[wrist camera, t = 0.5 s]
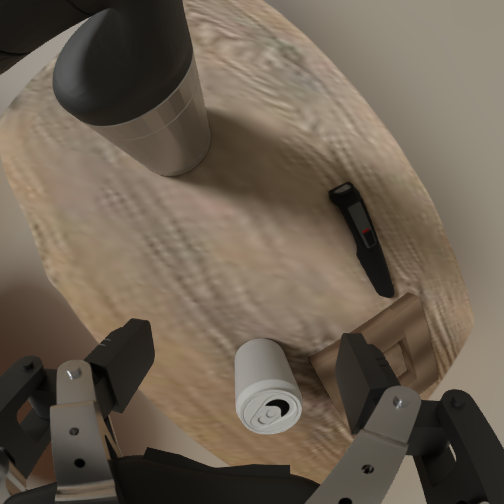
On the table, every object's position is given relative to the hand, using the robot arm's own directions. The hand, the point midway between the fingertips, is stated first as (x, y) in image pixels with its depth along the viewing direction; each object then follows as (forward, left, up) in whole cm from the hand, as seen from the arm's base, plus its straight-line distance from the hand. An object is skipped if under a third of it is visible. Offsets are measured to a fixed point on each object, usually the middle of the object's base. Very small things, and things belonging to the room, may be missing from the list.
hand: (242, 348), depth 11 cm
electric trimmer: (+5, +16, -22) cm, 28 cm away
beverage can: (+12, -3, -22) cm, 25 cm away
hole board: (+24, +11, -22) cm, 34 cm away
